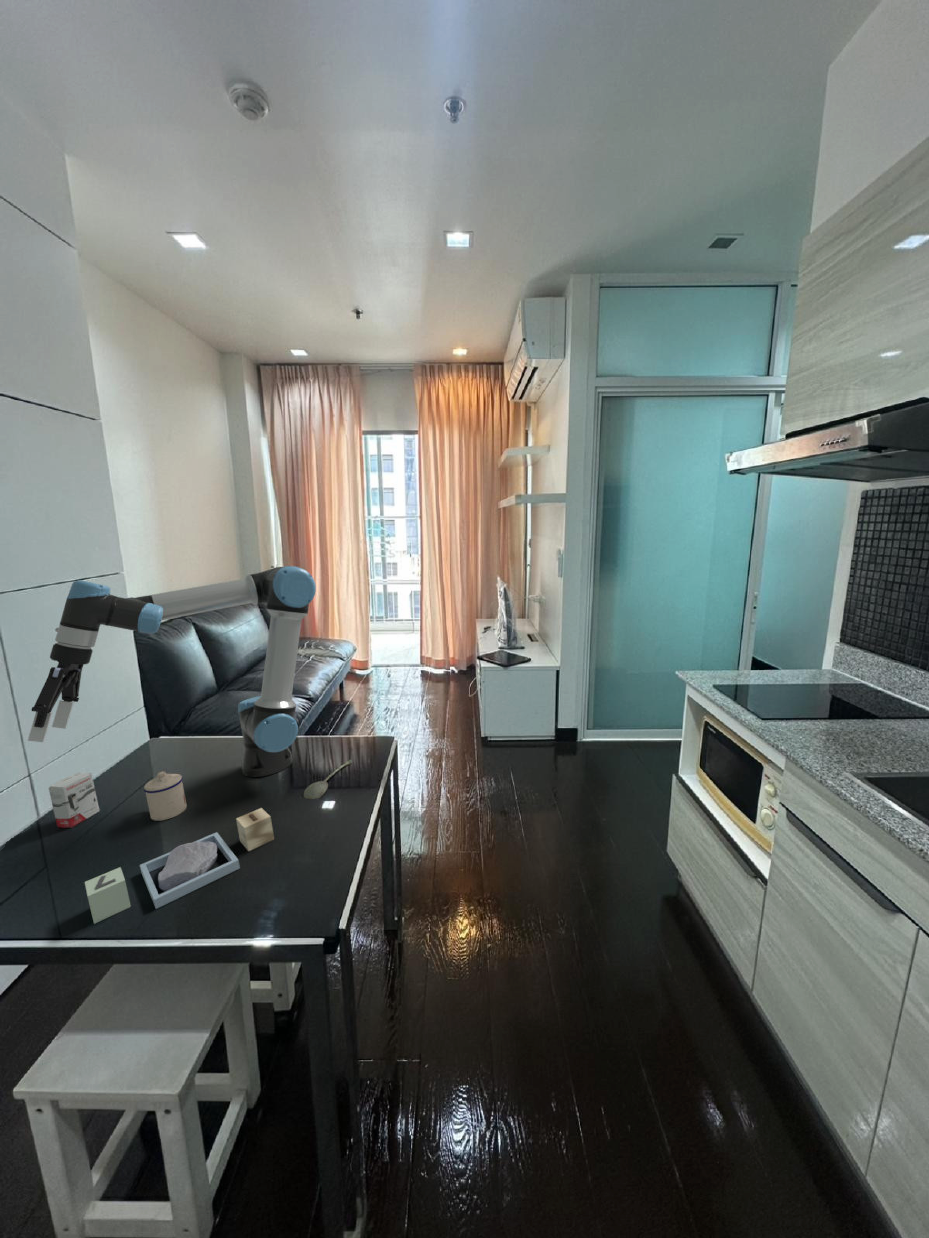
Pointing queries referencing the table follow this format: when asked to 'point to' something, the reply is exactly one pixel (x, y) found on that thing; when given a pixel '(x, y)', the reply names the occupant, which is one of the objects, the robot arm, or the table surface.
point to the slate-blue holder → (193, 883)
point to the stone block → (187, 863)
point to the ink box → (74, 799)
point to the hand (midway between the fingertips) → (48, 734)
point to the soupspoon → (320, 786)
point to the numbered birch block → (255, 829)
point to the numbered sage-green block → (107, 894)
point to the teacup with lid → (165, 796)
